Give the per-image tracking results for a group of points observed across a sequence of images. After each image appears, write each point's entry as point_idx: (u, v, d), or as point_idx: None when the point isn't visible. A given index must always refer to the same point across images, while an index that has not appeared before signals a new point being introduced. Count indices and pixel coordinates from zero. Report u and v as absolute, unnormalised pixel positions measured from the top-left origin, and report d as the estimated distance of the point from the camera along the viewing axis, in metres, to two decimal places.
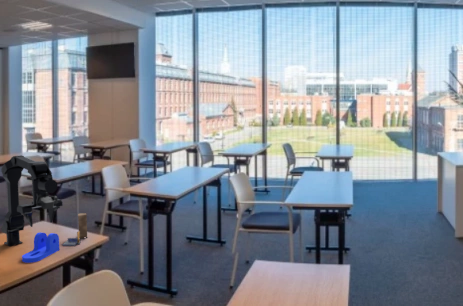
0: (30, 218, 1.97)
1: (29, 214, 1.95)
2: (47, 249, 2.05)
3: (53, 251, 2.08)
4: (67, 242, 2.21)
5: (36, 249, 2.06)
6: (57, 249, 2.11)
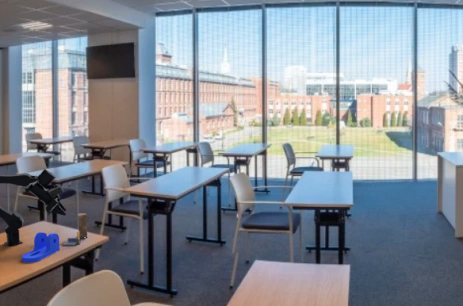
0: (60, 208, 2.22)
1: (59, 204, 2.21)
2: (47, 249, 2.05)
3: (53, 251, 2.08)
4: (67, 242, 2.21)
5: (36, 249, 2.06)
6: (57, 249, 2.11)
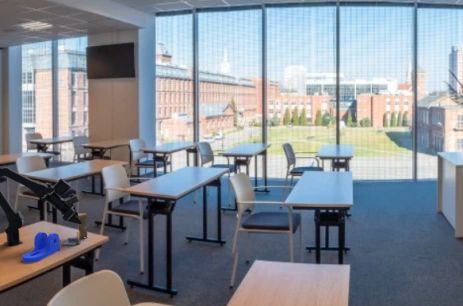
0: (77, 217, 2.25)
1: (75, 213, 2.24)
2: (47, 249, 2.06)
3: (53, 251, 2.08)
4: (67, 242, 2.21)
5: (36, 249, 2.06)
6: (57, 249, 2.11)
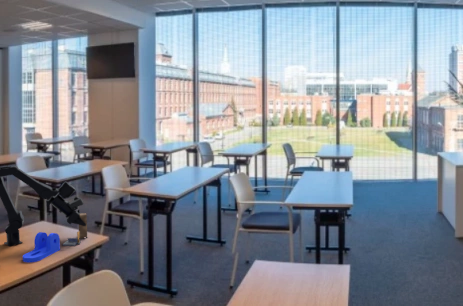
0: None
1: (79, 215, 2.27)
2: (48, 249, 2.06)
3: (54, 251, 2.08)
4: (67, 242, 2.21)
5: (37, 249, 2.07)
6: (58, 249, 2.11)
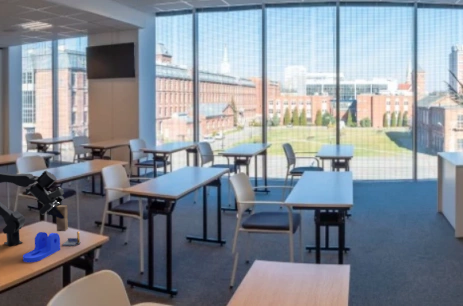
0: (58, 210, 2.17)
1: (56, 206, 2.16)
2: (48, 249, 2.06)
3: (54, 251, 2.08)
4: (67, 242, 2.21)
5: (37, 249, 2.07)
6: (58, 249, 2.11)
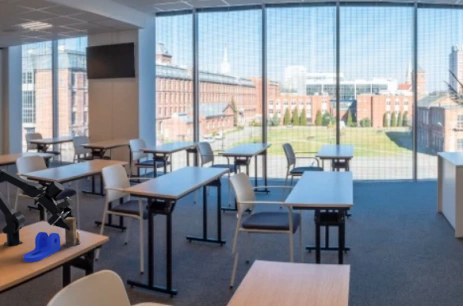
0: (64, 222, 2.15)
1: (62, 218, 2.13)
2: (48, 248, 2.06)
3: (54, 250, 2.08)
4: None
5: (37, 248, 2.07)
6: (58, 249, 2.11)
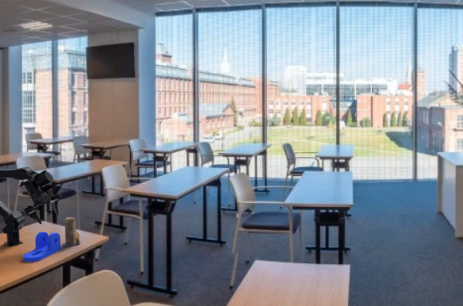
0: (36, 217, 2.14)
1: (33, 213, 2.13)
2: (48, 248, 2.06)
3: (54, 250, 2.09)
4: None
5: (37, 248, 2.07)
6: (58, 248, 2.12)
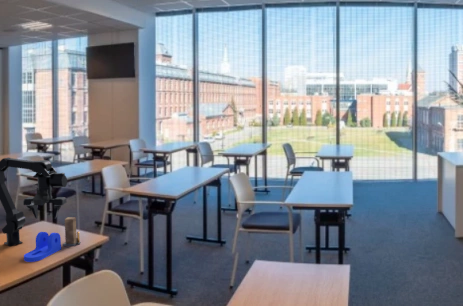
0: (33, 210, 2.17)
1: (30, 207, 2.16)
2: (49, 248, 2.06)
3: (55, 250, 2.09)
4: None
5: (38, 248, 2.07)
6: (59, 248, 2.12)
